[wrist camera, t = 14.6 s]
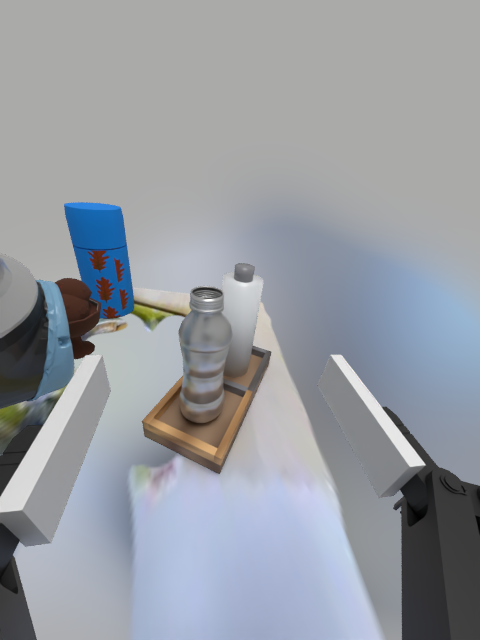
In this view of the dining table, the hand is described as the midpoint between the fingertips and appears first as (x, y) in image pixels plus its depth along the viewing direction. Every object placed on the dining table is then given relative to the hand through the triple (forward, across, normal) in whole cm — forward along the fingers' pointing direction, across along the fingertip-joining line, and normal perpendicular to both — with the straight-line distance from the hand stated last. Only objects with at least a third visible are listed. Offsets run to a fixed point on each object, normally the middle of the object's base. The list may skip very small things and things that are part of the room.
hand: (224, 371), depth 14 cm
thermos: (+49, -23, -25) cm, 59 cm away
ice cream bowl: (+31, -24, -24) cm, 46 cm away
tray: (+18, +3, -24) cm, 30 cm away
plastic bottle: (+13, 0, -22) cm, 25 cm away
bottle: (+23, +6, -22) cm, 32 cm away
